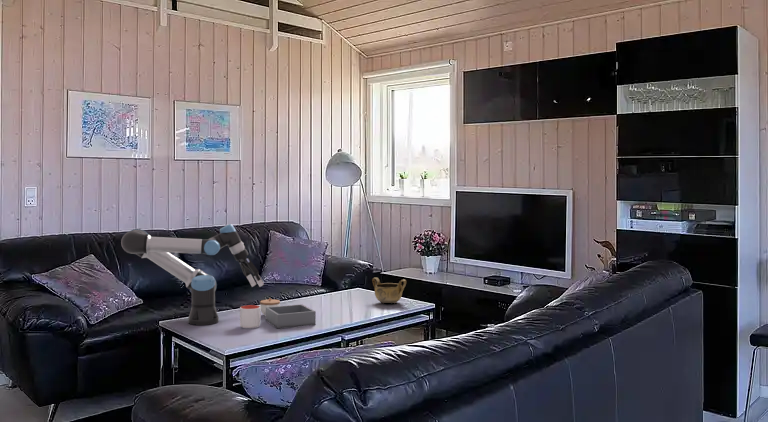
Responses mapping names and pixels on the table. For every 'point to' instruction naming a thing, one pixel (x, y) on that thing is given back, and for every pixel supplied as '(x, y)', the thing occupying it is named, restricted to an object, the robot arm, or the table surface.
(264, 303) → the lidded jar
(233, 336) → the table surface
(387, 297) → the ceramic bowl
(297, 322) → the bin
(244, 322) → the cup
